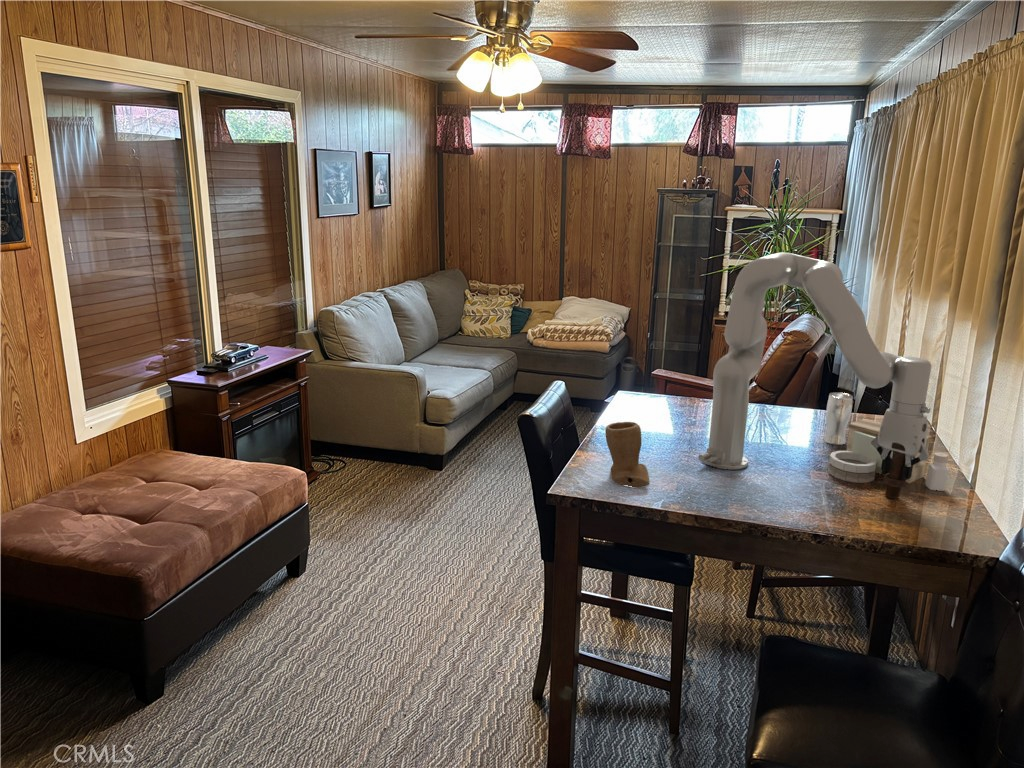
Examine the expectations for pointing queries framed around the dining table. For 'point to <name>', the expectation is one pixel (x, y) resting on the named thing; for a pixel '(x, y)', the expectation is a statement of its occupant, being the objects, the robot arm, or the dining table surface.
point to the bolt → (895, 472)
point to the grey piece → (858, 455)
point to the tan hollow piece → (626, 454)
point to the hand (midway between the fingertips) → (895, 476)
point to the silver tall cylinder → (837, 417)
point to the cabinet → (873, 430)
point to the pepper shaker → (938, 473)
